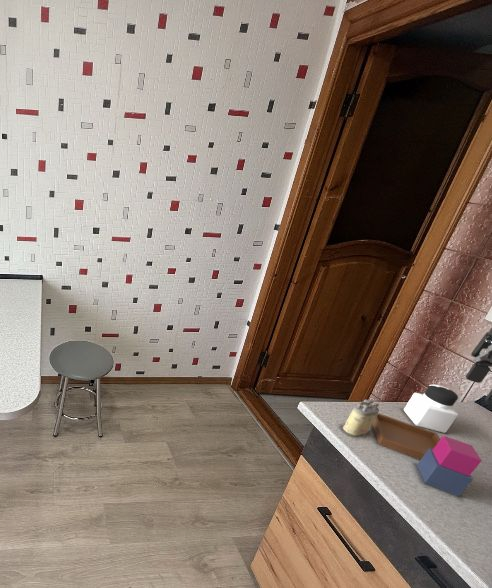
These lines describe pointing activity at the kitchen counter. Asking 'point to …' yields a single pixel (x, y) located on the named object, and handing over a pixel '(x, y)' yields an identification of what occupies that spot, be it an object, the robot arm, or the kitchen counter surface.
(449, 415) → the medicine bottle
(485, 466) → the kitchen counter surface
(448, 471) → the slate block
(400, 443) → the tray
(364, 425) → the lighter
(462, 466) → the mulberry block
